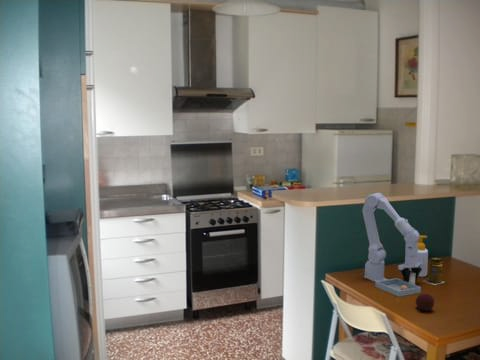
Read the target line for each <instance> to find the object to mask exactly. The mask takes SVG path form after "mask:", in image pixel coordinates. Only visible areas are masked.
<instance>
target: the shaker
mask: <svg viewBox="0 0 480 360" xmlns="http://www.w3.org/2000/svg"><path fill="white" fill-rule="evenodd" d="M415 276H416V273H415V272H412V271H411V273H410V277H409V283H411V284H414V285H416V282H415Z"/></svg>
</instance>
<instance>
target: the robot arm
mask: <svg viewBox="0 0 480 360" xmlns="http://www.w3.org/2000/svg"><path fill="white" fill-rule="evenodd" d="M362 206H363V207H362V208H361V209H362V216H363V220H364V221H363V222H364V224H365V230H366V233H367V234H366V235H367V239H368V243H369V244H368V245H369V246H368V249H367V250H368V255H367V259H368V260H367V261H366V262H365V264H364V276H363V278H364V279H367V280H369V281H373V282H374V283H375V282H377V281H383V280H389V278H386V277H385V258H386V257H387V252H386V250H385V249H384V246H383V244H382V243H381V241H380V236H379V235H380V234H379V232H378V227H377V222H376V218H375V214H374V212H375V210H377V209H379V210H384V212H385V213H386V214H387V215H388V216H389V218H391V219H392V220H393V221H394V226H395V228H396V229H397V230H398V231H399V232H400V233H401V235H402V236H404V237H403V240H404V242H405V254H404V255H405V257H404V262H403V263H402V264H398V266H397V269H398V270H399V271H400V273H401V275H402V278H403V281H406V282H409V277H410V273H411V271H412V272H415V273H416V276H415V283H417V281H418V278H419V277H418V275H419V273H420V272H421V270H422V268H420V266H421V267H423V262H417V258H418V240H419V238H420V236H421V235H420V233H419V231H418V230H417V229H415V228H414V227H412V225H410V223H409V220H408V219H406V218H405V217H401V216H400V215H399V214H398V212H397V211H396V210H395V209H394V207H393V206H392V205H391V203H390V202H389V200H388V199H387V197H386V196H385V195H384V194H383V193H381V192H375V193H372V194H369V195H367V196H366V198H365V199H364V204H363V205H362ZM410 268H411V271H410Z"/></svg>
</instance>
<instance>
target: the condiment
mask: <svg viewBox="0 0 480 360" xmlns="http://www.w3.org/2000/svg"><path fill="white" fill-rule="evenodd" d="M428 269H429V270H428V272H429V273H428V275H429V276H428V279H425V280H423V282H424V283H427V284H429V285H432V286H433V285H434V286H436V285H441V284H444V283H446V282H445V281H443V280H442V279H443V259H442V258H440V257H430V263H429V268H428ZM430 282H431V283H430ZM434 283H435V284H434Z"/></svg>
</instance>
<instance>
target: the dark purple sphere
mask: <svg viewBox="0 0 480 360" xmlns="http://www.w3.org/2000/svg"><path fill="white" fill-rule="evenodd" d="M415 304H416V307H417V308H418V309H419V310H421V311H422V312H423V311H426V312H427V311H431V310H432V309H433V308H434V305H435V299H434V297H433V296H432V295H431V294H428V293H421V294H420V293H419V295H417V297H416V299H415Z"/></svg>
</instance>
